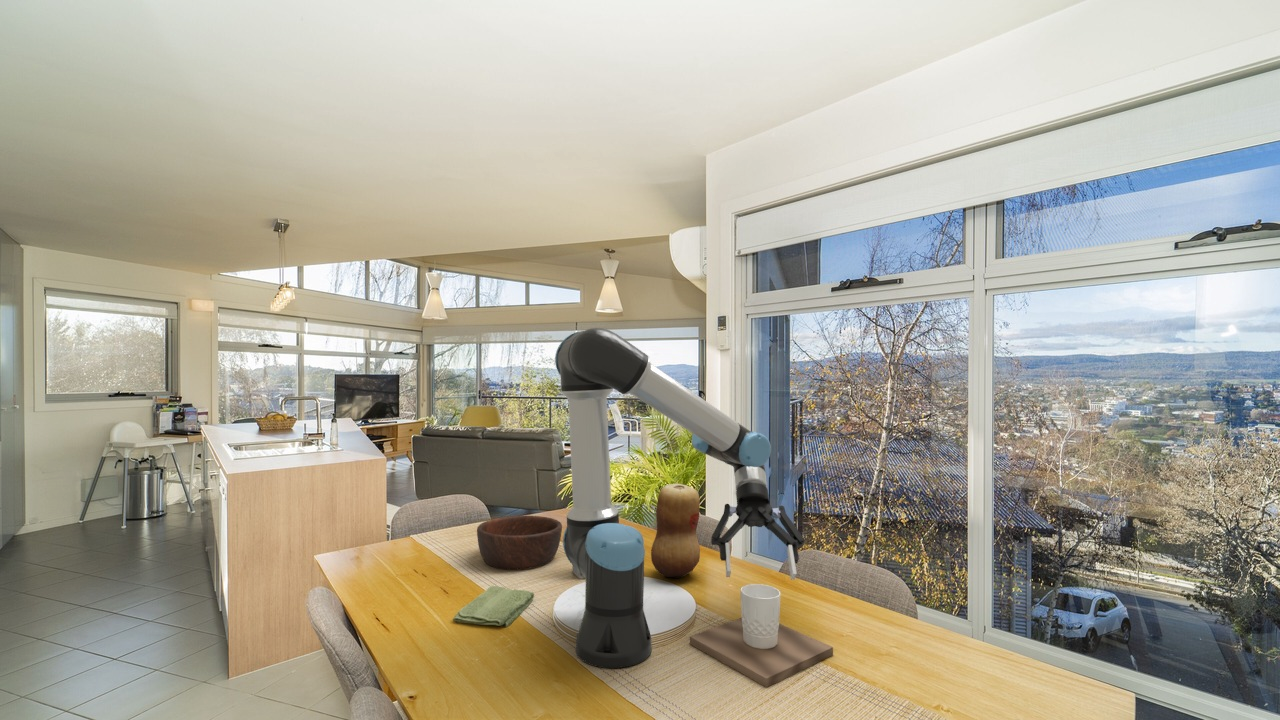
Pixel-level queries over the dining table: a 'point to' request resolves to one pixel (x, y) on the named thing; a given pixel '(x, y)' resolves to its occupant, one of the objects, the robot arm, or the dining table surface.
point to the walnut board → (761, 652)
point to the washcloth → (495, 607)
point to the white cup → (760, 615)
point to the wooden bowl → (519, 541)
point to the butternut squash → (676, 531)
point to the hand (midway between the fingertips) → (761, 575)
